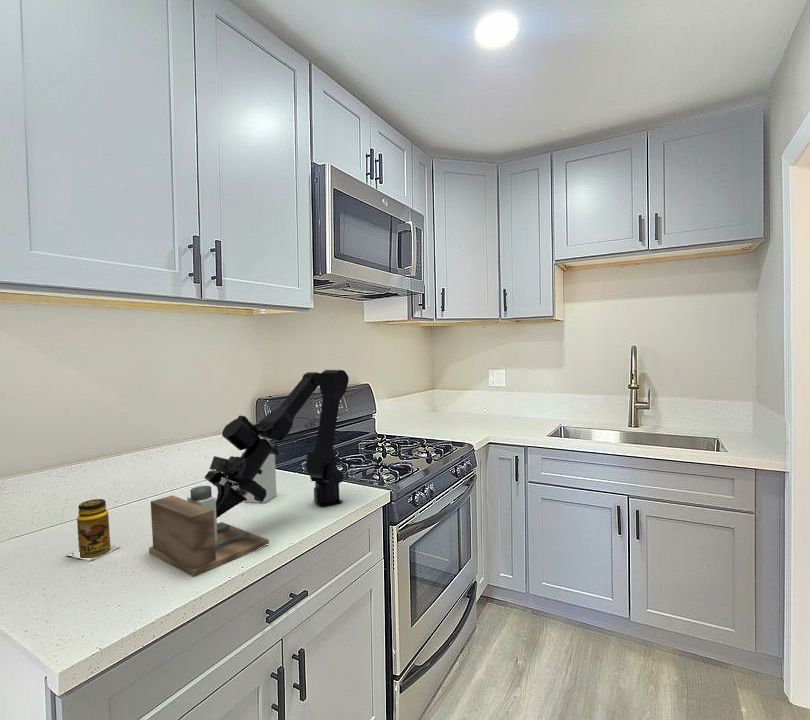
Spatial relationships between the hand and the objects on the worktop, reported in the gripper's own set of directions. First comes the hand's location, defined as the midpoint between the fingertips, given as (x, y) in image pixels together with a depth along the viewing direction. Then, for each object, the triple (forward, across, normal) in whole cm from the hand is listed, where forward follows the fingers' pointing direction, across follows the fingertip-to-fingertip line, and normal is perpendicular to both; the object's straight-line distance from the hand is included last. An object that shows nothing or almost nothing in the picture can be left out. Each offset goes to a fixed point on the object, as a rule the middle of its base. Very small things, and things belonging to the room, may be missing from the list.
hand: (213, 517), depth 110 cm
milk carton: (-14, -20, +24) cm, 34 cm away
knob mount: (+6, 0, +4) cm, 7 cm away
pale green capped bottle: (+6, 0, +2) cm, 6 cm away
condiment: (+18, -22, -8) cm, 29 cm away
